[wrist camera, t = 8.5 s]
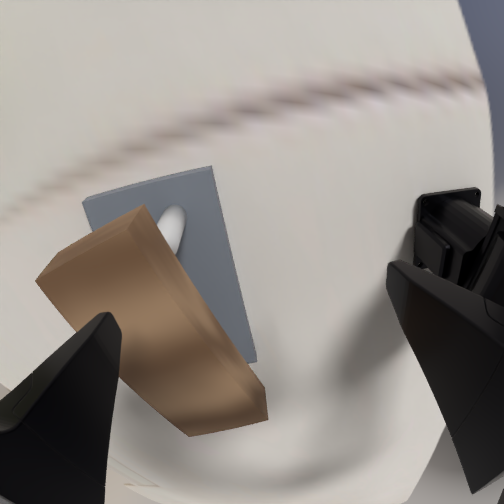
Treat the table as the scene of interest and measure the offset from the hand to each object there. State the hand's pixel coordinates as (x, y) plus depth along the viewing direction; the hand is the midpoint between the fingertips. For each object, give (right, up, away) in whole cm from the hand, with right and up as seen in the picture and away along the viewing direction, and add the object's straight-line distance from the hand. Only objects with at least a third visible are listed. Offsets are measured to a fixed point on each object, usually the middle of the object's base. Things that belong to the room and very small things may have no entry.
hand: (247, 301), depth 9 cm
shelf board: (-5, -4, +10) cm, 12 cm away
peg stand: (-5, -1, +14) cm, 15 cm away
